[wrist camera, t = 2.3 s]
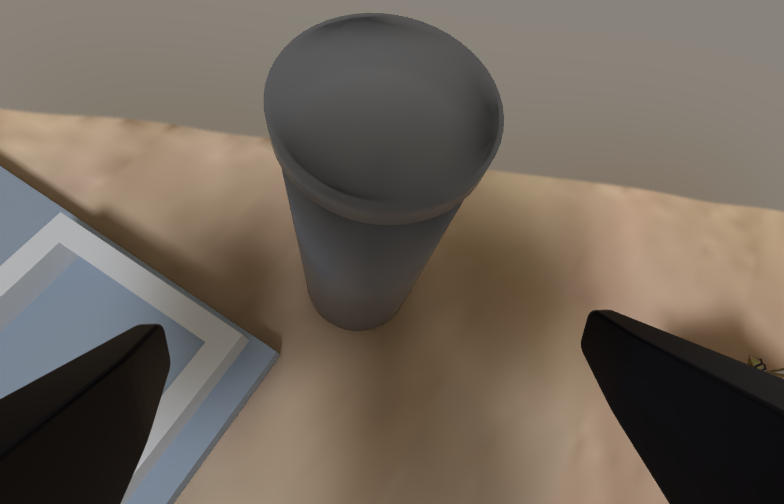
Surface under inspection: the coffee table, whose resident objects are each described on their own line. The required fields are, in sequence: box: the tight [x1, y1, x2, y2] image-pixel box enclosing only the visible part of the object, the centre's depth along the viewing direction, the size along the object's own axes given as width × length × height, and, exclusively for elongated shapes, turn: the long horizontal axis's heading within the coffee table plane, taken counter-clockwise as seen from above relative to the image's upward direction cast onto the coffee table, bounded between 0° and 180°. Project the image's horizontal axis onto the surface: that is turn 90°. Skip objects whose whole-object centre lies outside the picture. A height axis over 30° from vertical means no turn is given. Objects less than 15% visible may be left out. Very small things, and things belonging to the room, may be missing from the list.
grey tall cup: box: [264, 13, 504, 331], centre depth 15 cm, size 5×5×13 cm
